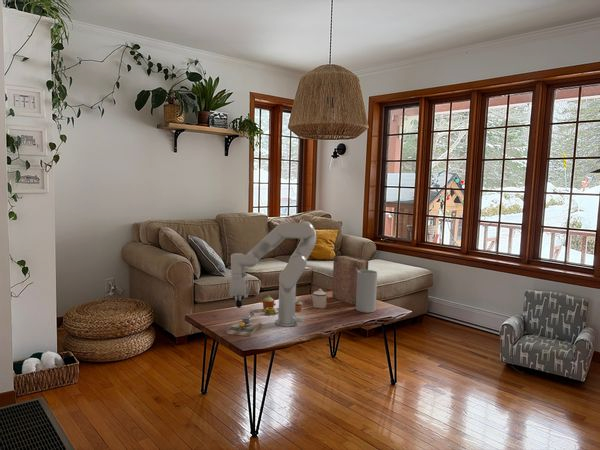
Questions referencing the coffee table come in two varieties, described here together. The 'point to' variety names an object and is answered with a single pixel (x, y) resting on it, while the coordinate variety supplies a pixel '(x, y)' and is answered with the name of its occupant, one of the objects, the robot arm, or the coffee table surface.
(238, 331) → the stand
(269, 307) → the toy tea set
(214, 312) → the coffee table surface
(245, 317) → the ball-knob lever handle
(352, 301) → the book
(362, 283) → the cylinder vase
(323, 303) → the teacup with lid
